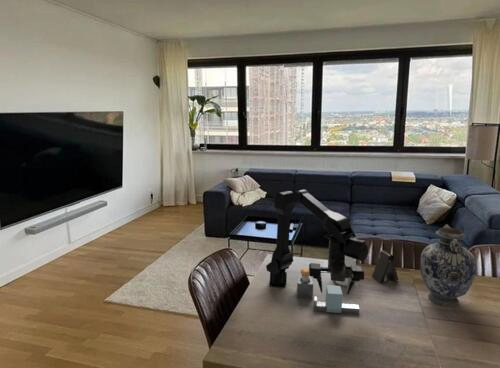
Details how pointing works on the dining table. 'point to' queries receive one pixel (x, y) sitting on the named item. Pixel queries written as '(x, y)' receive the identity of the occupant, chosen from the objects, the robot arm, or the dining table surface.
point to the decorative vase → (447, 267)
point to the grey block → (334, 298)
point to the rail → (345, 309)
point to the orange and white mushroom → (305, 275)
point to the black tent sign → (385, 268)
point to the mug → (348, 263)
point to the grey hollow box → (304, 288)
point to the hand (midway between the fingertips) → (334, 293)
